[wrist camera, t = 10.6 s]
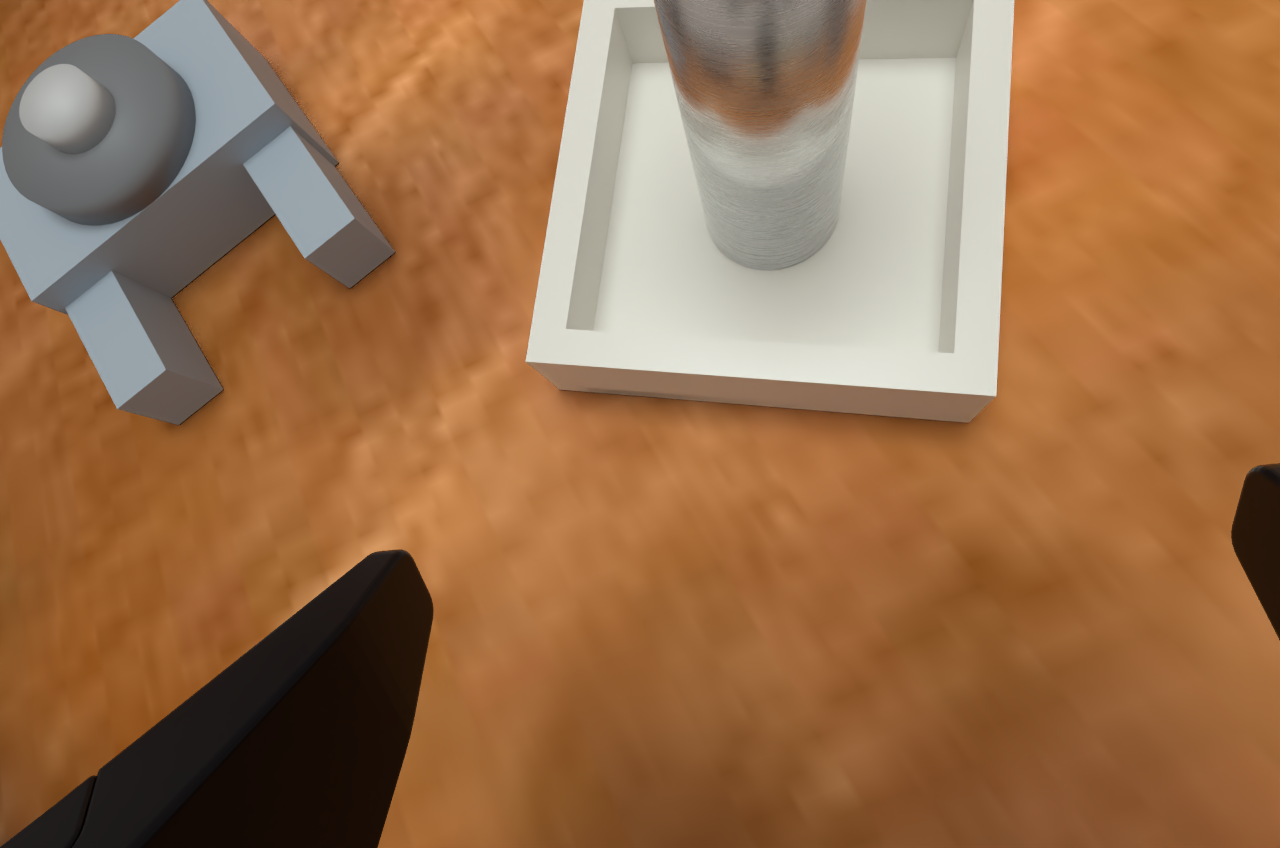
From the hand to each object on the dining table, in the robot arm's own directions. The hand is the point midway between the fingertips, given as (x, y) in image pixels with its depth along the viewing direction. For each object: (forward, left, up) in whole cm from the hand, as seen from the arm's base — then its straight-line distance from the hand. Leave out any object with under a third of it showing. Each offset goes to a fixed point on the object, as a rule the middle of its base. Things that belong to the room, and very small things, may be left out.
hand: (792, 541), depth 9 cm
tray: (+11, +2, -14) cm, 17 cm away
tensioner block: (+9, +21, -14) cm, 27 cm away
